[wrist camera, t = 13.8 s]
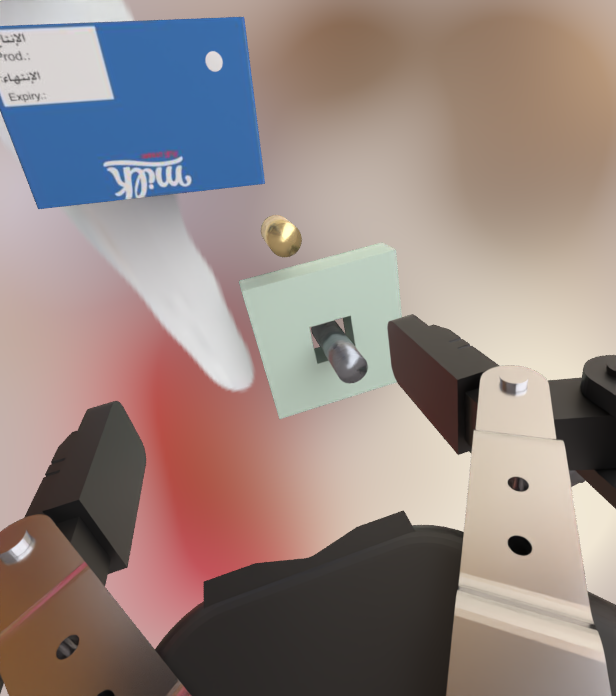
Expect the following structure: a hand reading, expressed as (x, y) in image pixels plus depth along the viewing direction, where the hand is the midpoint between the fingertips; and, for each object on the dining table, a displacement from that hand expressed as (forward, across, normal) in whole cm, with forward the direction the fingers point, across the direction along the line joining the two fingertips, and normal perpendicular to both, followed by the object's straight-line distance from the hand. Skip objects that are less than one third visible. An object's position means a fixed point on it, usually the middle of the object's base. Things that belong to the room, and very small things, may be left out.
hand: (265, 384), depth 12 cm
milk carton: (+30, +2, -8) cm, 31 cm away
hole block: (+30, -8, +14) cm, 34 cm away
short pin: (+30, -5, +2) cm, 31 cm away
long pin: (+30, -8, +14) cm, 34 cm away
